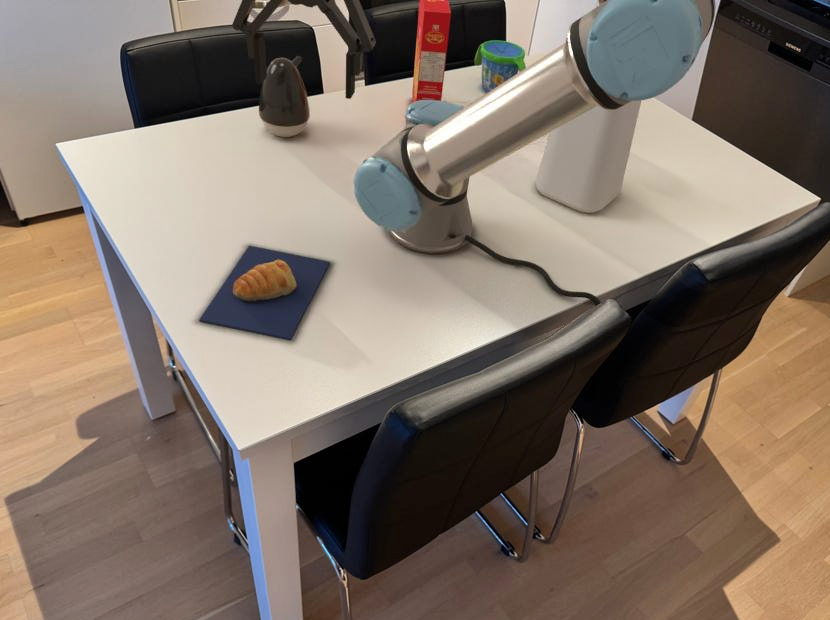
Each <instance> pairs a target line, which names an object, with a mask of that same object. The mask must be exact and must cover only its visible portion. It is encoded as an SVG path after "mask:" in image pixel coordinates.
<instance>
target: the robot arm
mask: <svg viewBox="0 0 830 620" xmlns="http://www.w3.org/2000/svg"><path fill="white" fill-rule="evenodd" d="M256 1H257V0H241V2H240V4H239V7H238V9H237V11H236V15H235V16H234V18H233V22H232V25H231V26H232V28H233V29H234V30H235V31H240V32H242V33H243V34H244V35H245V36H246V43H247V44H246V47H247V56H248V58H249V59H254V73H255V74H254V75H255V84H258V85H262V83H263V81H264V80H265V79H266V78H267V57H266V41H265V40H266V39H265V38H266V37H265V32H261V31H260V32H259V30H260V29H261V28H262V26H264V24H265V23H266V22H267V20H268V19H269V18H270V17H271V16H272V15H273V13H274V12H275V11H276V10H277V9H278V8H279V7H280V5H281V4H282V3H283V2H284V0H269V1H268V2H267V3H266V4H265V6H264V7H263V8H262V9H261V11H260V12H259V13H258V14H257V15H256V17H254V19H253V20H252V22H251V21H249V17H250V15H251V12H252V10H253V9H254V6H255V3H256ZM287 2H288V3H290V5H294V6H298V5H299V6H300V5H302V6H304V7H307V8H314V7H317V8H318V9H319V12H321V13H322V14H324V15H325V16H326V18H327V19H328V21H329V22H330V24H331V25H332V27H333V28H334V30H335V31H336V32H337V33H338V35H339V36H340V38H341V40H343V42H344V44H345V45H346V46H347V47H348V50H347V52H346V53H345V99H347V100H351V99H352V97H353V96H354V94H355V92H356V77H359V76H360V75H361V72H362V71H363V53H370V52H372V51H373V50H374V47H375V46H376V45H377V41H376V39H375V36H374V33H373V31H372V29H371V26H370V24H369V21H368V18H367V17H366V14H365V11H364V9H363V6H362V4H361V1H360V0H343V2H344V4H345V7H346V9H347V10H346V11H347V12H348V14H349V16H350V19H351V22H352V24H353V26H352V25H351V24H350V22H349V21H348V19H347V18H346V16H345V15H344V14H343V12H342V10H341V9H340V8H339V6H338V5H337V3H336V0H287ZM598 4H599V5H598V6H595V8H592V9H591V10H590V11H588V12H587V13H585V14H584V15H583V16H581V17H579V18H578V19H576V20H574V21H573V22H572V23H571V24H570V25H569V26H568V29H567V34H566V39H565V43H563V44H561V45H559V46H558V47H557V48H555V49H553V50H552V51H550V52H549V53H547V54H546V55H544V56H543V57H541V58H540V59H538V60H536V61H535V62H533V63H531V64H530V65H528V66H527V67H526V68H525V69H524V70H522V71H521V72H519V71H518V74H516V75H515V76H513V77H511V78H510V79H508V80H507V81H505V82H504V83H502V84H500V85H499V86H497V87H496V88H494V89H493V90H491V91H490V92H486V93H485V94H483V95H482V96H480V97H479V98H477V99H475V100H474V101H472V102H470V104H467V105H466V106H465V107H463V106H461V105H458V104H456V103H453V102H448V101H443V100H441V101H437V100H421V101H416V102H413V103H412V102H411V103H410V104H409V105H408V106H407V108H406V111H405V115H404V118H405V124H404V128H403V129H402V130H401V131H400V132H399V133H397V134H396V135H394V136H393V138H391V139H390V140H389V141H388V142H386V144H383V146H381V147H380V148H379V149H378V150H377V151H375V152H374V153H373V154H372V155H371V156H369V157H367V158H365V159H364V160H363V161H362V163H361V164H360V166H359V167H357V170H356V171H355V173H354V176H353V193H354V196H355V199H356V202H357V204H358V207H360V209H361V211H362V212H363V213H364V215H365V216H366V217H367V218H368V219H369V220H370V221H371V222H372V223H374V224H375V225H377V226H379V227H382V228H384V229H385V230H387V231H388V234H389V235H390V237H391V238H392V239H393V240H394V241H395V242H396V243H398V244H399V245H401V246H403V247H404V248H407V249H409V250H411V251H412V250H413V251H415V252H419V253H424V254H434V255H435V254H437V255H438V254H446V253H451V252H455V251H457V250H461V249H462V248H463V247H465V246H466V245H467V244H468V243H469V244H472V245H473V246H474V247H476V248H478V249H479V250H481V251H483V252H484V253H486V254H487V255H489V256H490V257H491V258H493V259H495V260H496V261H499V262H502V263H505V264H507V265H512V266H513V265H514V266H520V267H524V268H529V269H531V270H534V271H536V272H537V273H538V274H540V276H542V278H543V279H544V281H545V282H546V284H547V286H548V287H549V288H550V289H551V290H552V291H553V292H554V293H556V294H558V295H560V296H563V297H567V298H578V299H579V298H580V299H582V298H583V299H587V300H589V301H591V302H592V303H593V304H594V306H596V305H598V304H600V303H602V302H601V300H600V299H599V298H598V297H597V296H596V295H594V294H592V293H590V292H587V291H572V290H571V291H570V290H566V289H563V288H561V287H559V286H558V285H557V284H555V282H554V281H553V279H552V277H550V275H549V274H548V272H547V270H545V269H544V268H543V267H541V266H540V265H539V264H536V263H535V262H532V261H529V260H523V259H516V258H511V257H507V256H504V255H501V254H500V253H498V252H496V251H494V250H493V249H492V248H490V247H488V246H487V245H485V244H484V243H483V242H481V241H480V240H477V239H475V238H474V237H472V232H473V220H472V213H471V211H470V205H469V200H468V189H469V183H470V177H472V176H474V175H476V174H477V173H479V172H481V171H483V170H484V169H486V168H489V167H490V166H491V165H494V164H495V163H497V162H499V161H501V160H503V159H504V158H506V157H508V156H510V155H512V154H513V153H515V152H517V151H518V150H519V151H520V149H522V148H524V147H526V146H528V145H529V144H531V143H533V142H534V141H536V140H538V139H540V138H542V137H544V136H547V134H550V132H551V131H553V130H555V129H556V128H558V127H560V126H562V125H564V124H565V123H567V122H569V121H571V120H573V119H574V118H576V117H578V116H580V115H582V114H583V113H585V112H587V111H589V110H591V109H592V108H594V107H596V106H598V107H601V108H603V109H606V110H609V111H614V110H616V109H618V108H620V107H622V106H623V105H625V104H627V103H629V102H631V101H640V100H641V101H646V100H650V99H653V98H656V97H657V96H660V95H662V94H664V93H665V92H667V91H669V90H670V89H672V88H673V87H675V85H676V84H678V83H679V82H680V81H681V80H682V79H683V78H684V77H685V76H686V74H687V73H688V72H689V71H690V69H691V68H692V66H693V65H694V63H695V61H696V58H697V56H698V54H699V52H700V49H701V47H702V45H703V43H704V42H705V41H706V38H707V37H708V36H709V34H710V31H711V29H712V27H713V24H714V20H715V16H716V5H717V4H716V0H598ZM353 27H354V28H355V29H354V28H353ZM355 30H356V31H355Z"/></svg>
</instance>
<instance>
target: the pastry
mask: <svg viewBox="0 0 830 620" xmlns="http://www.w3.org/2000/svg"><path fill="white" fill-rule="evenodd" d="M295 288H296V281H295V278H294V276H293V275H292V272H291V269H290V268H289V266H288V265H287V264H286V262H284V261H282V260H279V259H278V260H275V261H274V262H270V263H264V264H262V265H257V266H255V267H254V268H253V269H251V270H250V271H248V272H247V273H246V274H244V275H242V276H241V277H240V278H238V280H237V281H235V282H234V286H233V293H234V295H235V296H237V297H238V298H240V299H243V300H247V301H256V300H267V299H270V298H271V299H272V298H276V297H280V296H281V295H287V294H289V293H291V292H292V291H293V290H294V289H295Z"/></svg>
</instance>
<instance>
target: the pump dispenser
mask: <svg viewBox="0 0 830 620" xmlns="http://www.w3.org/2000/svg"><path fill="white" fill-rule="evenodd" d="M302 60H303V59H302V57H301V56H300V55H297V56H296V57H295V58H294V59H293V60H290V59H288V58H286V57H277V58H275V59H273V60H271V62H270V63H269V65H268V66H267V67H266V70H267V78H266V79H265V80H264V81H263V82H262V84H261V88H260V93H259V101H258V115H259V118H260V119H261V122H262V125H263V126H264V127H265V129H266V130H267V131H268V132H270V133H271V134H273V135H274V136H278V137H282V138H290V137H295V136H297V135H299V134H301V133H302V132H303V131H304V130H305V128H306V127H307V124H308V120H309V119H310V116H311V114H310V113H311V112H310V111H311V110H310V106H309V105H310V104H309V99H308V94H307V90H306V87H305V84H304V81H303V78H302V76H301V73H300V71H299V68H297V67H298V65H299V64H300V63H301V62H302Z"/></svg>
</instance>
